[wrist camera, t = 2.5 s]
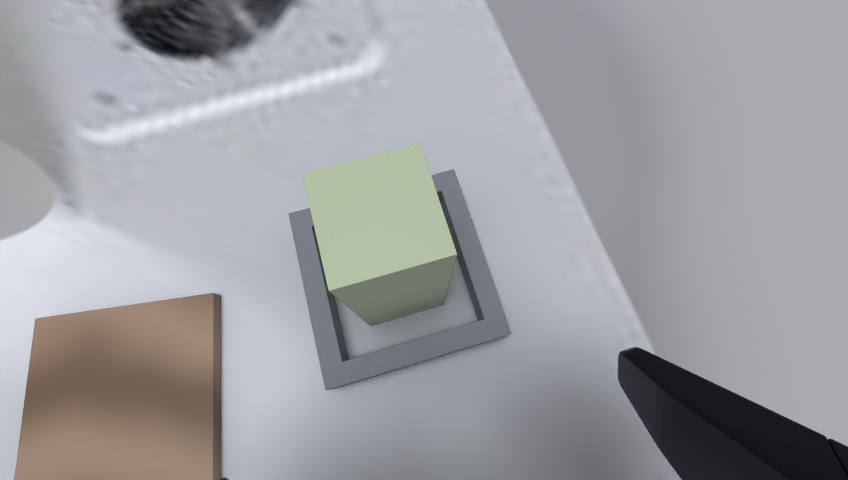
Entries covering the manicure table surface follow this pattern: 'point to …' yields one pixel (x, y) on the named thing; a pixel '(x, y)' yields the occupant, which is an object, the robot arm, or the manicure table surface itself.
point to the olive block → (382, 234)
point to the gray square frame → (350, 371)
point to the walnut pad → (125, 394)
